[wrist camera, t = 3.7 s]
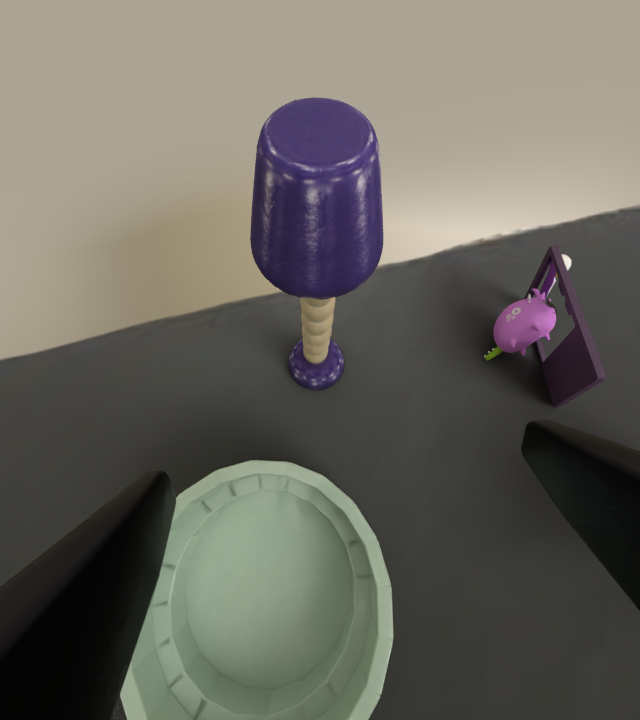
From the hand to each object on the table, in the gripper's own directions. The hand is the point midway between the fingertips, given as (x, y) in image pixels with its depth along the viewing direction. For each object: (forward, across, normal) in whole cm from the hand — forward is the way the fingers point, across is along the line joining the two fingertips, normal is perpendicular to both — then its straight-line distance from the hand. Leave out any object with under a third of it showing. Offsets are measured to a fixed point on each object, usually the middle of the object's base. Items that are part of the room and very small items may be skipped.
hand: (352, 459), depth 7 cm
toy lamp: (+15, 0, +4) cm, 16 cm away
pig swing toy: (+15, -15, +5) cm, 22 cm away
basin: (+6, +4, +13) cm, 15 cm away
